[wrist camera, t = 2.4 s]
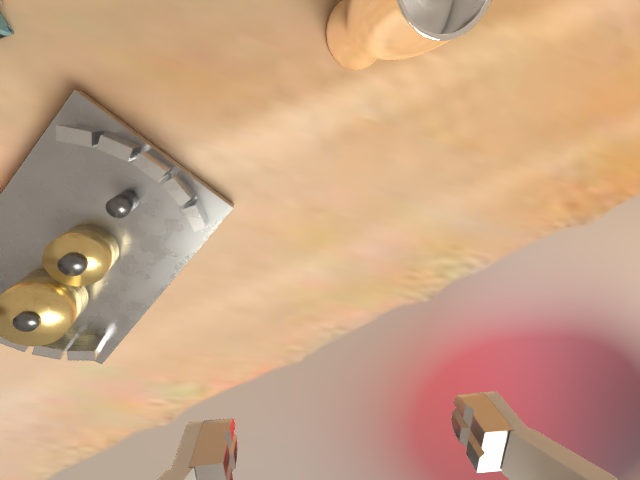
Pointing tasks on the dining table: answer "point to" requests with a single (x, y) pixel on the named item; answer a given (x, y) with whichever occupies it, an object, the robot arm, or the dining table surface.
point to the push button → (4, 26)
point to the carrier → (94, 233)
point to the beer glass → (396, 28)
